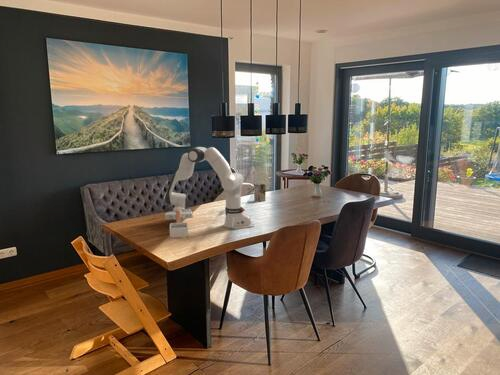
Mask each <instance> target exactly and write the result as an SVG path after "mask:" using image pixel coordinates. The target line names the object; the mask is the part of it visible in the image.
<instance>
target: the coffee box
mask: <svg viewBox="0 0 500 375" xmlns="http://www.w3.org/2000/svg"><path fill="white" fill-rule="evenodd" d="M253 199H254V200H253V202H256V203H261V202H266V184H264V183H258V184H257V183H256V184H254V185H253Z"/></svg>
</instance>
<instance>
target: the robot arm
mask: <svg viewBox="0 0 500 375" xmlns="http://www.w3.org/2000/svg"><path fill="white" fill-rule="evenodd" d="M204 161H206V162H208V164H209V165H210V166H211V167H212V169H213V170H214V171H215V173H216V174H217V176H218V178H219V179H220V180H219V181H220V183H221V187H222V189H223V190H225V191H226V195H225V207H224V208H225V209H224V214H225V218H224V224H223V226H224V227H225V228H227V229H232V230H239V229H246V228H253V227H255V223H254V222H253V221H252V220H251V217H250V216H249V215H248V214H247V213H246V212H245V211H246V210H245V208H244V207H243V206H242V204H241V200H242V190H243V183H244V175H243V174H241V173H240V172H232V169H231V167H230V164H229V162H228V161H227V160H226V158H225V157H224V155H223V154H221V152H220V151H219V149H217V148H215V147H213V146H210V147H206V146H197V147H196V146H195V147H193V148H191V149H189V150H188V152H185V153H183V154H182V156H181V159H180V161H179V167H178V169H177V170H176V171H174V172H173V174H172V176H171V179H170V181H169V184H168V186H167V189H166V192H165V193H164V196H163V202H164V203H165V204H166V205H168V206H169V205H170V206H174V207H173V210H172V211H168V212H165V214H164V219H165V220H176V210H181V215H182V220H184V219H193V218H194V215H193V211H192V210H191V208H188V206H189V197H188V195H187V194H186V193H182V192H181V193H180V192H174V191H173V190H174V187H175V185H176V183H177V182H180V181H183V180H188V179H189V178H191V177H192V176H193V174H194V170H195V164H196V163H201V162H204Z"/></svg>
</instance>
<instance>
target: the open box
mask: <svg viewBox="0 0 500 375" xmlns="http://www.w3.org/2000/svg"><path fill="white" fill-rule="evenodd" d="M188 227H189V226H188V222H182V223H176V222H171V223H169V238H170V239H171V238H173V239H174V238H175V239H176V238H189V231H188V229H189V228H188Z"/></svg>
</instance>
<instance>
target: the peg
mask: <svg viewBox="0 0 500 375" xmlns="http://www.w3.org/2000/svg"><path fill="white" fill-rule="evenodd" d="M175 223H183V219H182V215H181V210H176V219H175Z"/></svg>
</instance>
